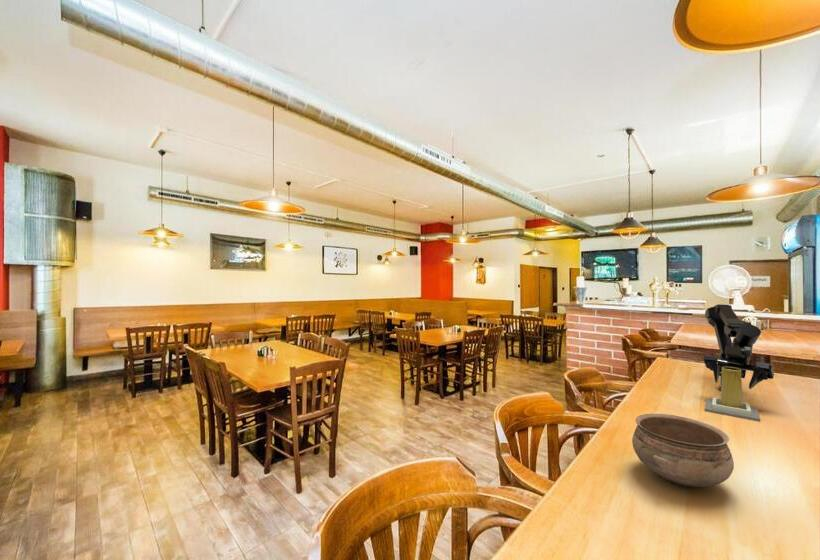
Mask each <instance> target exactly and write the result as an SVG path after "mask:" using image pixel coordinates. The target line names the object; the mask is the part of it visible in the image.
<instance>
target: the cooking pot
mask: <svg viewBox="0 0 820 560" xmlns="http://www.w3.org/2000/svg"><path fill="white" fill-rule="evenodd" d="M635 423H636V427H635V429H634V432H633V435H632V437H631V438H632V439H631V443H632V447H633V451H634V453H635V454H636V456H637V458H638V459H639V460H640V462H641V463H642V464H643V465H645V466H646V467H647V468H648V470H649V469H650V471H652V472H654V473H655V474H657V475H658V476H659V477H662V478H663V479H665V480H666V481H667V482H669V483H671V484H673V485H676V486H679V487H683V488H690V487H691V488H699V487H700V488H703V487H713V486H717V485H719V484H722V483H724V482H725V481H727V480H728V479H729V478H730V476H732V473H733V471H734V469H735V468H734V467H735V462H734V457H733V456H732V452H731V449H730V448H729V445H728V443H729V441H730V437H729V436H728V435H727V433H726V432H724V431H723V430H721V429H719V428H718V427H716V426H713V425H711V424H709V423H706V422H704V421H699V420H696V419H693V418H688V417H685V416H679V415H674V414H666V413H646V414H645V413H644V414H640V415H638V416H637V417H636V418H635Z"/></svg>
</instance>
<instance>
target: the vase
mask: <svg viewBox="0 0 820 560" xmlns="http://www.w3.org/2000/svg"><path fill="white" fill-rule="evenodd" d="M742 386H743V385H742V378H741V369H739V368H734V367H722V386H721V391H720V399H721V404H720V405H723V406H728V407H734V408H740V409H743V387H742Z"/></svg>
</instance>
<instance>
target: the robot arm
mask: <svg viewBox="0 0 820 560" xmlns="http://www.w3.org/2000/svg"><path fill="white" fill-rule="evenodd" d="M704 317H705V318H706V320H707V323H708V324H709V325H710V326H711V327H713V329H714V331H715V332H714V333H715V336H716V340H717V345H718V348H719V353H720V355H719V356H716V355H708V354H706V355H704V356H703V358H702V360H703V362H704V366H705V368H707V369H709V370H710V371H711V372H713V376H714V377H713V378H714V382H715V383H716V384H717V383H718V382H719V378H720V385H719V386H718V390H719V391H720V392H721V386H722V367H734V368H739V369H741V379H745V378H746V376H747V375H746V373H747V371H750V372H753V373H752V375H751V379H750V381H749V383H748V389H749V390H752V389H753V388H754V387H755V386H756V385H758V384H759V383H760V382H762V381H764V380H765V381H767V380H768V379H769V380H772V379H774V377H775V371H774V367H773V365H772V364H771V363H767V362H758V361H756V362H755V365H752V364H749V363H750V361H751V357H752V356H753V346H754V344H756V343H757V341H758V340H759V338H760V335H761V333H762V331H761V329H760V328H759V327H757V325H755V324H752V322H751V321H746V320H742V319H740V318H739V317H738V315H737V314H736V313H735V311H734V310H733V308H732V305H731V304H716V305H714V306H712V307H707V309H706V310H705V312H704ZM732 338H733V339H732Z"/></svg>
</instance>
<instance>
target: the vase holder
mask: <svg viewBox="0 0 820 560" xmlns="http://www.w3.org/2000/svg"><path fill="white" fill-rule="evenodd" d="M742 402H743V401H742ZM720 404H721V397H720V398H719V397H713V396H712V399H710V398H705V404H704V412H708V413H714V414H719V415H723V416H724V415H725V416H729V417H734V418H740V419H745V420H751V421H756V422H761V418H760V414H759V410H758V407H757V406H751V405H750V403H748V402H743V409H740V408H734V407H728V406H723V405H720Z"/></svg>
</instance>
